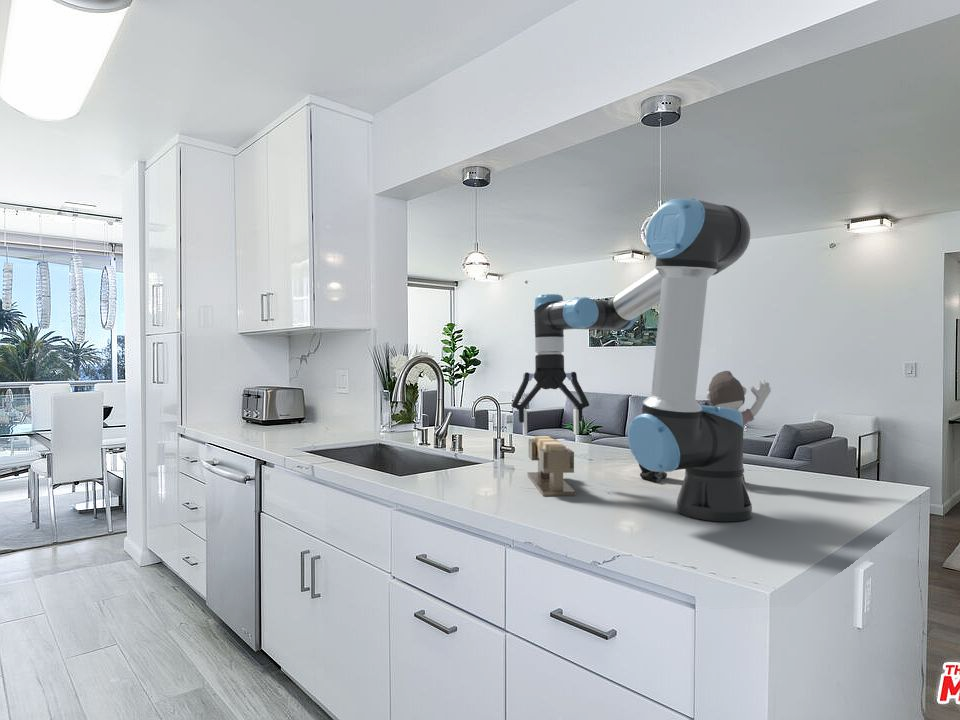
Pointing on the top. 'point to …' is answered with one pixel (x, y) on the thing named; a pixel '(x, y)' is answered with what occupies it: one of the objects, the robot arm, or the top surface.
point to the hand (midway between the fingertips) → (550, 434)
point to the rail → (548, 445)
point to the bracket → (551, 471)
